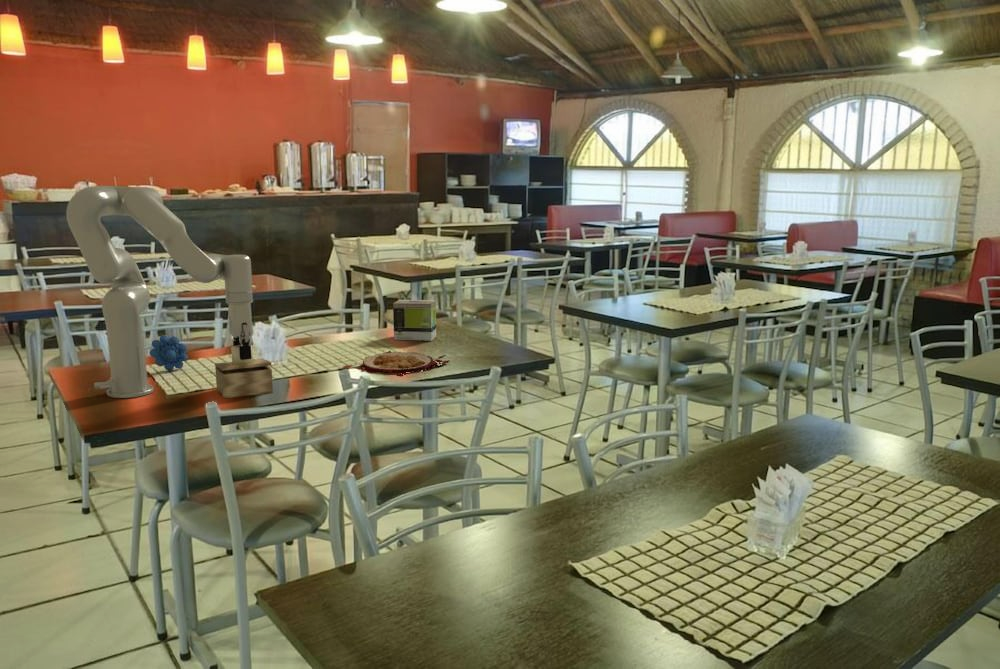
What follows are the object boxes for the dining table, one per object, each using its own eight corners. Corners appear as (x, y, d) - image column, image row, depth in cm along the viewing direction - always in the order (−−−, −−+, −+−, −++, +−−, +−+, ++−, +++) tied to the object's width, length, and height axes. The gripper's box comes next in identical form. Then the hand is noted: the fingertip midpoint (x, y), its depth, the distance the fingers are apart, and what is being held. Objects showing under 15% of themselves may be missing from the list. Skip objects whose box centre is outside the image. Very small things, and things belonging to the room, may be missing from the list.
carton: (223, 398, 235) (222, 374, 234) (216, 389, 244) (215, 366, 243) (272, 392, 242) (271, 369, 240) (264, 383, 251) (262, 361, 250)
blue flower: (154, 375, 259) (151, 338, 257) (149, 371, 265) (146, 335, 263) (192, 371, 266) (189, 334, 263) (187, 366, 271) (184, 331, 269)
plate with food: (389, 356, 292) (389, 346, 291) (449, 364, 278) (449, 354, 277) (342, 371, 272) (341, 360, 271) (404, 380, 258) (403, 369, 257)
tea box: (436, 336, 323) (436, 299, 320) (431, 341, 313) (431, 303, 310) (399, 335, 325) (399, 298, 322) (393, 340, 315) (392, 302, 312)
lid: (222, 370, 233) (221, 367, 233) (215, 365, 243) (215, 363, 243) (271, 365, 240) (271, 362, 240) (262, 360, 250) (262, 358, 249)
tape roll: (234, 365, 237) (233, 347, 237) (230, 362, 242) (229, 345, 242) (255, 363, 240) (254, 345, 239) (251, 360, 245) (249, 343, 245)
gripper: (220, 294, 243) (223, 351, 247) (232, 302, 228) (235, 363, 232) (246, 292, 247) (249, 349, 250) (259, 300, 232) (262, 361, 235)
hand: (242, 355), depth 241 cm, fingers open, 8 cm apart
